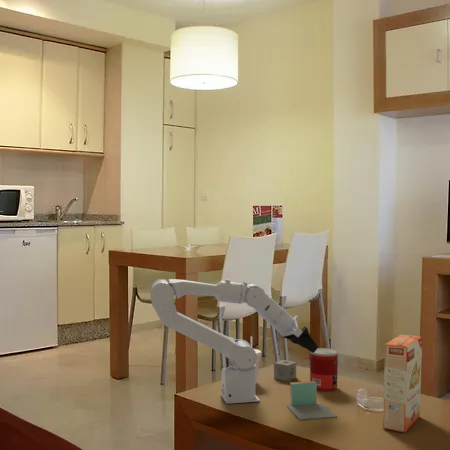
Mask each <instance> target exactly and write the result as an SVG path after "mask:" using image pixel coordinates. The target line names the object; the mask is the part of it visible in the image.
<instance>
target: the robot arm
mask: <svg viewBox="0 0 450 450" xmlns="http://www.w3.org/2000/svg"><path fill="white" fill-rule="evenodd" d="M149 288H150V289H149V292H150V293H149V294H150V300H151V305H152V307H153V309H154V311H155V313H156V315H157V316H158V318H159V320H160V321H161V323H162V325H164V326H165V327H168V328H169V329H171V330H173V331H175V332H177V333H180V334H182V335H183V336H186V337H188V338H190V339H192V340H193V341H196V342H197V343H199V344H202V345H204V346H206V347H208V348H210V349H213V350H214V351H217V353H220V354H222V355H223V356H224V357H226V358H227V359H228V360H230V361H231V362H230V363H229V366H227V367H223V368H222V369H221V372H220V373H221V376H220V377H221V378H220V379H221V380H220V387H221V388H220V396H221V398H222V399H223V401H224V403H225V404H240V403H256V402H260V401H261V399H260V398H259V397H258V396H257V395H256V384H257V383H256V365H255V363H256V360H257V355H256V352H255V351H254V349H255V348H253V347H252V348H251V343H249V341H247V340H245V339H238V338H237V339H236V338H234V337H231V336H228V335H226V334H223V333H221V332H219V331H217V330H215V329H213V328H211V327H209V326H207V325H205V324H203V323H201V322H199V321H197V320H195V319H193V318H191V317H188V316H186V315H184V314H183V313H181V312H178V311H177V308H176V304H175V297H176V299H180V298H182V297H184V296H185V295H197V296H206V297H207V296H209V297H210V296H211V297H215V299H216V300H217V302H221V303H228V304H229V303H231V304H237V305H239V304H240V305H242V304H244V303H246V304H247V306H248V307H251V308H253V309H254V310H255V311H256V312H257V314H258V315H259V316H260V317H262V319H263V320H265V321H266V322H267V323H268V324H269V325H270V326H271V327H272V328H273V329H274V330H275V331H277V332H278V333H279V334H280V335H281V337H282V338H284V339H288V340H290V342H291V343H293V344H296V345H298V346H300V347H302V348H304V349H306V350H308V351H309V352H313V353H314V352H315V351H316V350H317V348H319V347H318V344H317V343H316V342H315V340H314V339H313V338H312V336H311V334H310V333H309V329H308V327H306V326H305V325H304V326H303V327H302V328H301V329H300V328H299V324H298V320H299V319H300V317H299V316H298V315H294V316H292V315H291V314H290V313H289V312H287V311H286V310H285V309H284V307H282V306H281V305H280V304H278V302H277V301H275V300H274V299H273V298H272V297H270V296H269V295H268V294H267V293H266V292H265V290H264V289H263V288H261V286H259V285H257V284H255V283H253V282H247V281H243V282H234V281H231V280H230V279H227V278H225V279H224V280H220V281H218V282H217V283H216V284H212V283H206V282H200V281H192V280H187V279H175V278H171V279H170V278H169V279H168V280H167V279H165V278H159V279H156V280H154V281H153V282H152V284H151V285H150V287H149ZM255 383H256V384H255Z"/></svg>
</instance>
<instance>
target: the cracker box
mask: <svg viewBox="0 0 450 450" xmlns="http://www.w3.org/2000/svg"><path fill="white" fill-rule="evenodd" d="M422 352H423V337H422V336H418V335H412V334H409V335H408V334H399V335H398V336H396V337H394V338H393V339H391V340H390V341H388V342H387V343H385V344H384V372H383V373H384V374H383V377H384V378H383V408H382V409H383V410H382V429H386V430H390V431H395V432H397V433H398V432H400V433H405V434H406V432H407V431H408V430H409V429H410V428H411V427H412V426H413V424H414V423H415V422H416V421H417V420H418V419H419V418H420V417H421V387H422V384H421V383H422V356H423V353H422Z"/></svg>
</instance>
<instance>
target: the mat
mask: <svg viewBox="0 0 450 450" xmlns="http://www.w3.org/2000/svg"><path fill="white" fill-rule="evenodd" d="M286 406H287V407H286V408H287V409H288V410H289V411H290V412H291V413H292V414H293V416H295V417H296V418H297V419H298V420H299V421H305V420H307V421H308V420H321V419H335V418H336V419H337V417H338V416H337V414H335V413H334V412H332V411H331V409H329V408H328V407H327V406H326V405H324V404H323V403H316V404H310V405H295V406H291V405H286Z"/></svg>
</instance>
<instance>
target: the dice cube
mask: <svg viewBox="0 0 450 450" xmlns="http://www.w3.org/2000/svg"><path fill="white" fill-rule="evenodd" d="M273 379H275V380H279V381H283V382H290V381H292V380H294V379H297V361H292V360H287V359H282V360H281V359H280V360H278V361H276V362H274V363H273Z"/></svg>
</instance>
